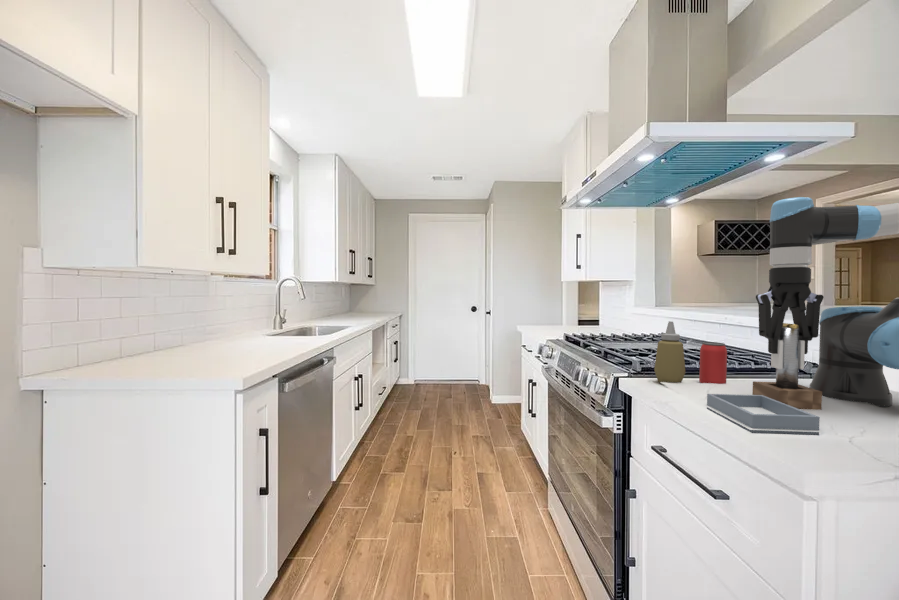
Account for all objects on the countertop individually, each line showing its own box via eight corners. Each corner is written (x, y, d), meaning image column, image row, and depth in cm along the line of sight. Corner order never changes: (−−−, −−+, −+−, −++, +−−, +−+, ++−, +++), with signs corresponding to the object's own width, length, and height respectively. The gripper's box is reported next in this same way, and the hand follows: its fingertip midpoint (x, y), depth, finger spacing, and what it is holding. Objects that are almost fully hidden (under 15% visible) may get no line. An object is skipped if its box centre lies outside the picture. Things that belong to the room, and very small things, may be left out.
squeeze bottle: (666, 379, 127) (668, 320, 126) (691, 385, 119) (693, 322, 119) (647, 381, 123) (649, 320, 123) (672, 387, 116) (673, 323, 115)
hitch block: (791, 402, 101) (791, 382, 101) (821, 414, 92) (822, 391, 92) (752, 401, 102) (752, 381, 102) (778, 412, 93) (779, 390, 93)
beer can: (730, 387, 116) (731, 345, 116) (704, 386, 118) (705, 344, 117) (720, 382, 123) (721, 342, 123) (695, 381, 124) (696, 341, 124)
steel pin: (786, 388, 100) (787, 322, 99) (804, 394, 94) (805, 324, 94) (768, 388, 100) (770, 322, 100) (785, 394, 95) (786, 324, 94)
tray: (762, 410, 95) (762, 395, 95) (818, 435, 79) (819, 416, 79) (706, 408, 96) (707, 393, 95) (752, 433, 80) (752, 414, 80)
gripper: (816, 267, 99) (813, 365, 100) (740, 267, 101) (738, 364, 101) (843, 265, 92) (840, 371, 92) (761, 266, 93) (759, 370, 94)
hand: (787, 367), depth 97 cm, fingers closed on steel pin, 4 cm apart
